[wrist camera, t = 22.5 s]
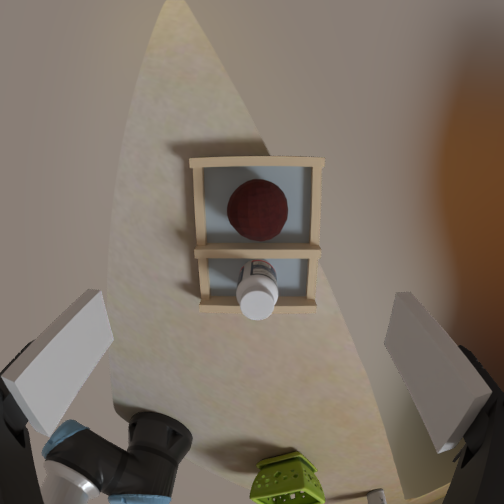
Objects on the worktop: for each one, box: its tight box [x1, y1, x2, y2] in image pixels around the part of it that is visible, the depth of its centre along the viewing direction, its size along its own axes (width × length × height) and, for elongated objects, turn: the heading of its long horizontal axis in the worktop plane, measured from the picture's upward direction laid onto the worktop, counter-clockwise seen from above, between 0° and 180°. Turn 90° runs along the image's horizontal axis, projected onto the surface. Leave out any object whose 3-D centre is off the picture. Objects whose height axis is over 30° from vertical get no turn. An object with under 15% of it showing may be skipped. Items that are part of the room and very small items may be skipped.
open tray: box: [189, 156, 325, 314], centre depth 39 cm, size 16×21×4 cm
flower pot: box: [250, 451, 325, 504], centre depth 54 cm, size 14×14×13 cm
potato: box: [227, 179, 288, 242], centre depth 35 cm, size 7×8×7 cm
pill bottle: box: [236, 259, 278, 320], centre depth 38 cm, size 5×5×9 cm
